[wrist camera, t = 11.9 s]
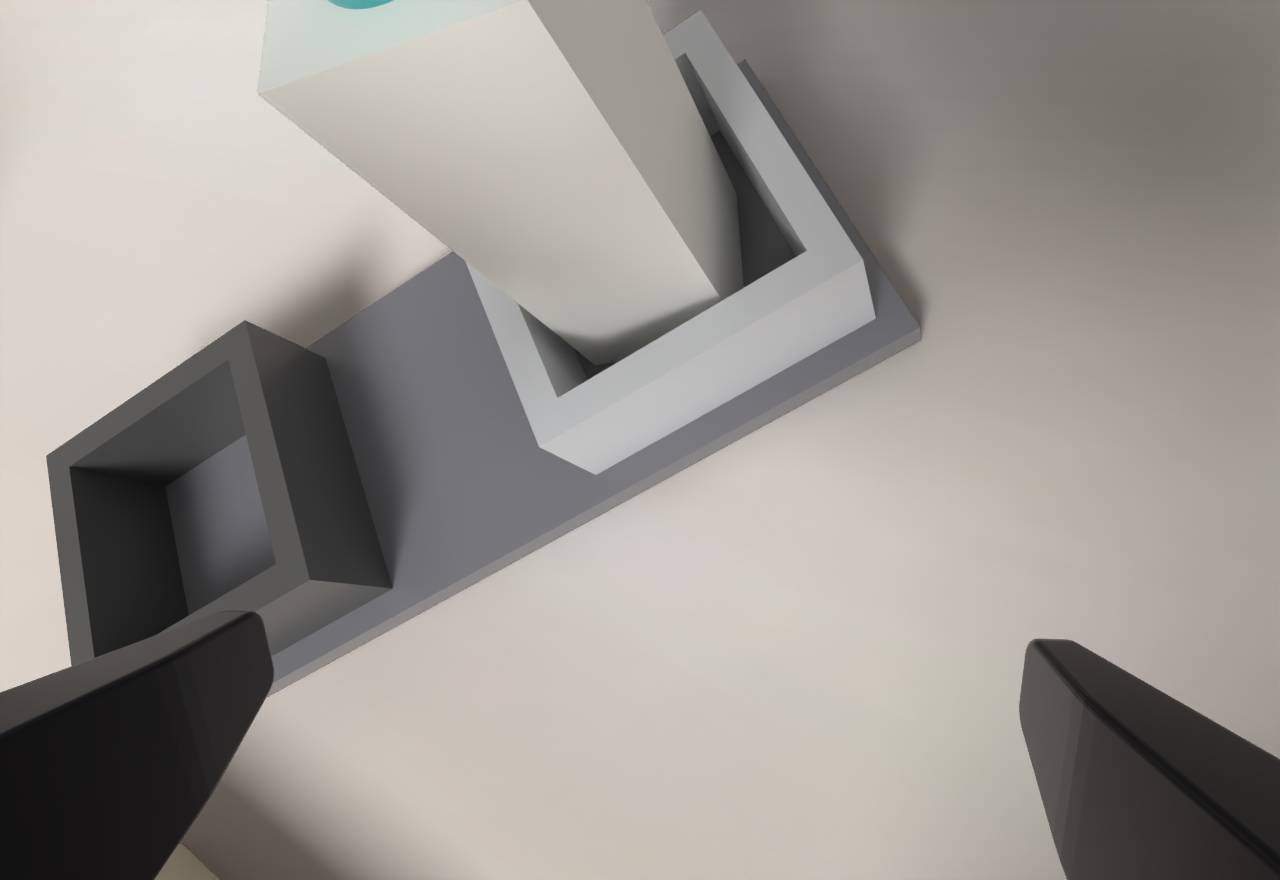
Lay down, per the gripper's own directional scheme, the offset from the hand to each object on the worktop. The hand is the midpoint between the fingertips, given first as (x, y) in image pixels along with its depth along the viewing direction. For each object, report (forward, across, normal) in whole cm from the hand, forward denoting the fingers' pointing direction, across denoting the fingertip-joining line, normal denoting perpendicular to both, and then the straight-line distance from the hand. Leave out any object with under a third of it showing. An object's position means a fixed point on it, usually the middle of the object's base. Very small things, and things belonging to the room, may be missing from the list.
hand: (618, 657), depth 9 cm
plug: (+13, +1, -3) cm, 13 cm away
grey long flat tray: (+13, +7, +1) cm, 14 cm away
